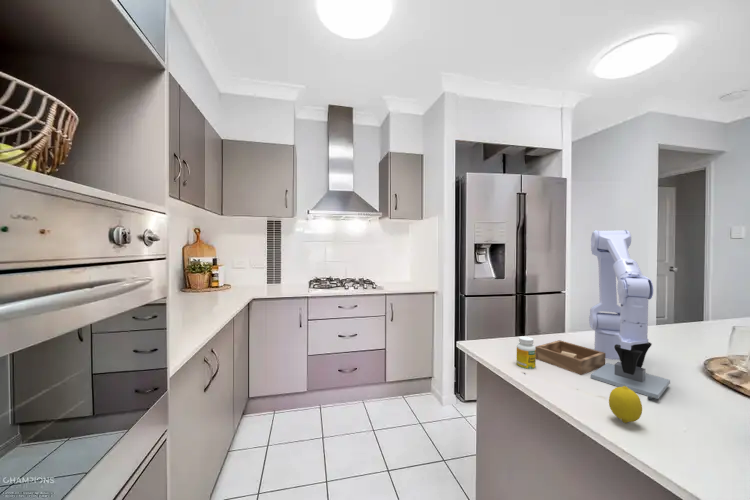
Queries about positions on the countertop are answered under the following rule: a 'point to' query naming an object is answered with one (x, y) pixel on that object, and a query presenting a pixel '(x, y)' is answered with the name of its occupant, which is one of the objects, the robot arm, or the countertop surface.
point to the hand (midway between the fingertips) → (632, 369)
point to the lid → (632, 380)
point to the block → (569, 354)
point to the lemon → (625, 404)
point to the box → (580, 365)
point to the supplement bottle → (526, 353)
